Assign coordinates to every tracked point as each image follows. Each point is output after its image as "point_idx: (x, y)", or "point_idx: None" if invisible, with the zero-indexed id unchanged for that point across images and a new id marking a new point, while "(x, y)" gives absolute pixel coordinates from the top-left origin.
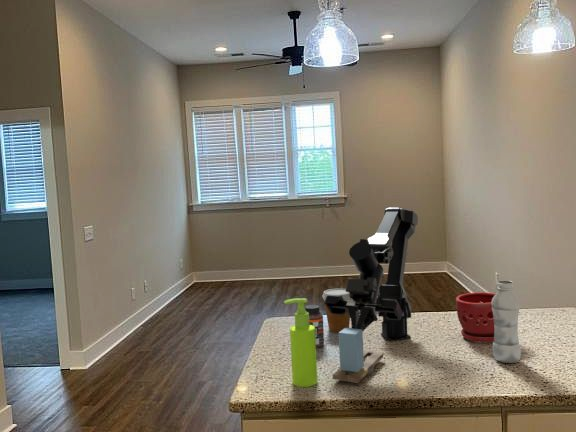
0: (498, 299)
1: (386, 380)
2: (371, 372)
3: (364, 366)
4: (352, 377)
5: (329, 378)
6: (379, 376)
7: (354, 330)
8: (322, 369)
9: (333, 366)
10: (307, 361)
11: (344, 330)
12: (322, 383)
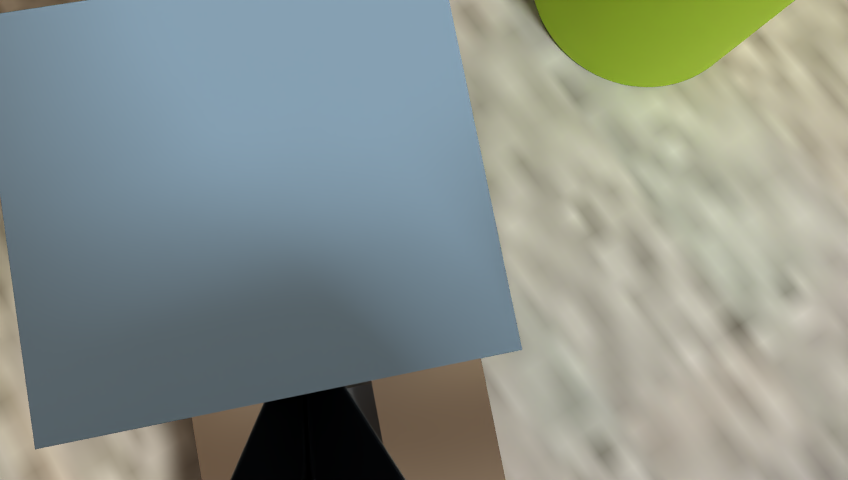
0: None
1: (5, 417)
2: None
3: (250, 427)
4: None
5: (508, 160)
6: (116, 469)
7: (186, 274)
8: (700, 307)
9: (660, 435)
10: None
11: (409, 149)
12: (492, 34)
